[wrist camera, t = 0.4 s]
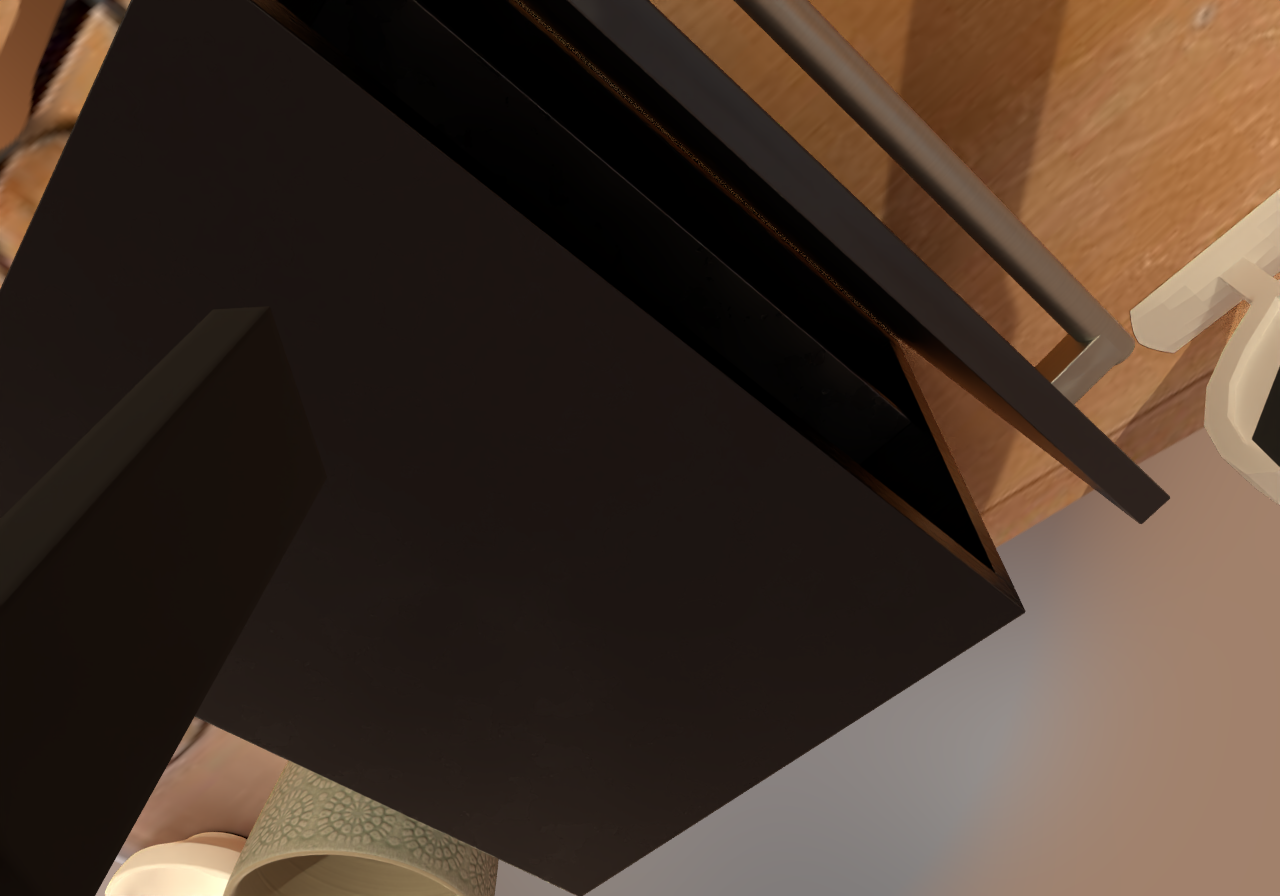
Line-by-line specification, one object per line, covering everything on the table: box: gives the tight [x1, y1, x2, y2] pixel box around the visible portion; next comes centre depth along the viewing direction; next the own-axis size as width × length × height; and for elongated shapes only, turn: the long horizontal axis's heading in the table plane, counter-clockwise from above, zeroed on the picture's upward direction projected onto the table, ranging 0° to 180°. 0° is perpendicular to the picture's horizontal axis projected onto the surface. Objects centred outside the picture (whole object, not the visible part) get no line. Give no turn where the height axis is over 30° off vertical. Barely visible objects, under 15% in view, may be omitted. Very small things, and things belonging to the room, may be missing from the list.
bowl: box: [105, 832, 247, 896], centre depth 95 cm, size 20×20×7 cm
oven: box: [0, 0, 1025, 896], centre depth 49 cm, size 32×40×26 cm
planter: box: [223, 761, 498, 896], centre depth 77 cm, size 21×21×19 cm
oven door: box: [520, 0, 1170, 524], centre depth 40 cm, size 5×40×26 cm, turn 50°
